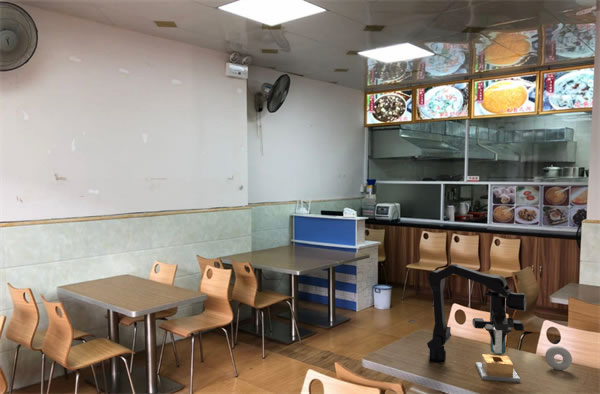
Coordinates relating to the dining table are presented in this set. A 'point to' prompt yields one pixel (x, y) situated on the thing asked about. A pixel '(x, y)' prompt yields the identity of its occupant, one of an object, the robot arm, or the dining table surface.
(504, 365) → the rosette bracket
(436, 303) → the robot arm
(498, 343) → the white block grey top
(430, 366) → the dining table surface
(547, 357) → the donut
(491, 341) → the beverage bottle
